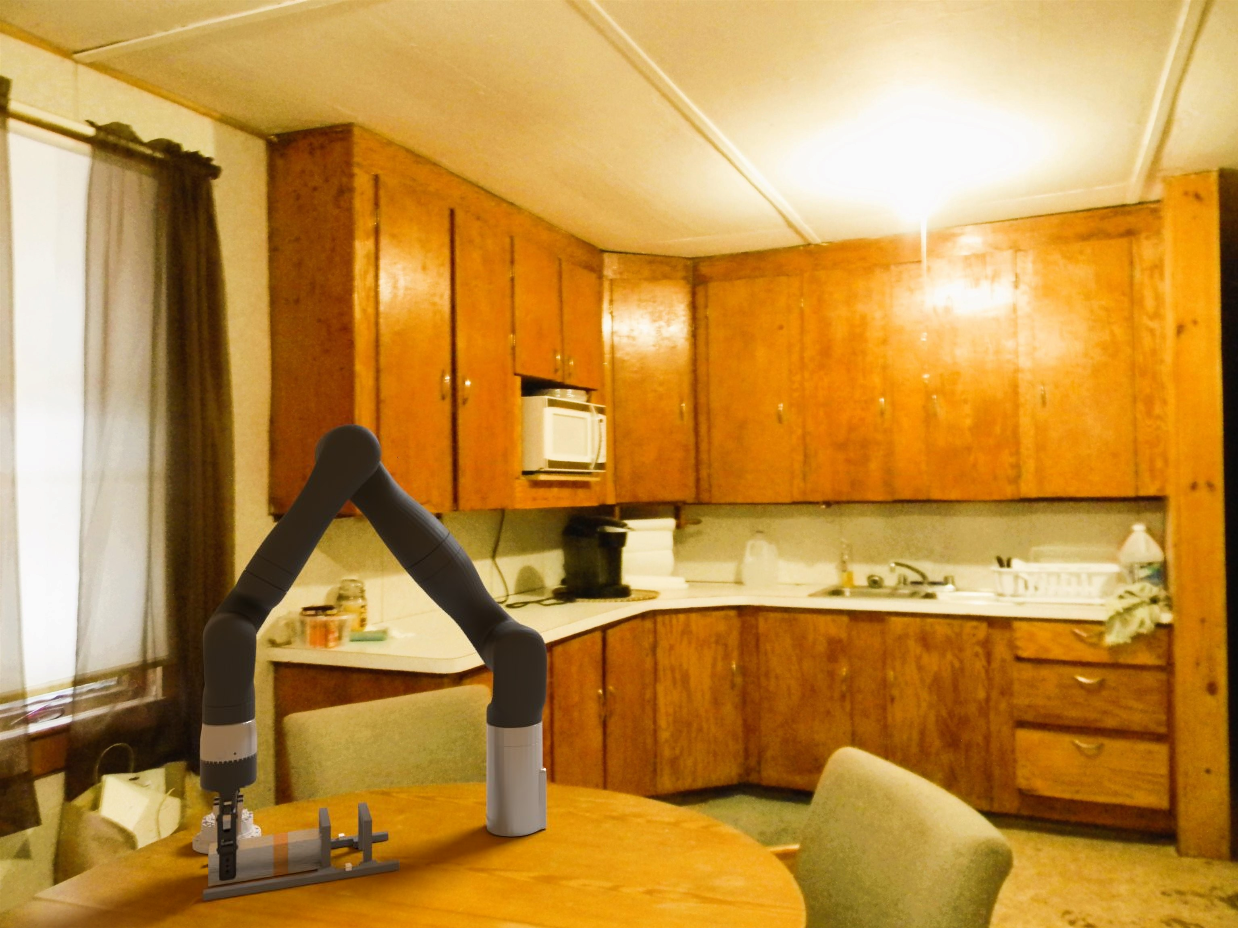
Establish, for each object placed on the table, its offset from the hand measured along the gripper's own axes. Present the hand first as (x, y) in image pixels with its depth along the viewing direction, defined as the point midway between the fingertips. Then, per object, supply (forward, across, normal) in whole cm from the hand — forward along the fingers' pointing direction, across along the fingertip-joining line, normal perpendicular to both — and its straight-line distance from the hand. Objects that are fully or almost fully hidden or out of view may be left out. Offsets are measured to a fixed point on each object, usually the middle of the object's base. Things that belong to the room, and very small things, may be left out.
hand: (228, 871), depth 126 cm
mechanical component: (+1, +15, +1) cm, 15 cm away
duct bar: (+1, 0, -6) cm, 6 cm away
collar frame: (+1, 0, -10) cm, 10 cm away
